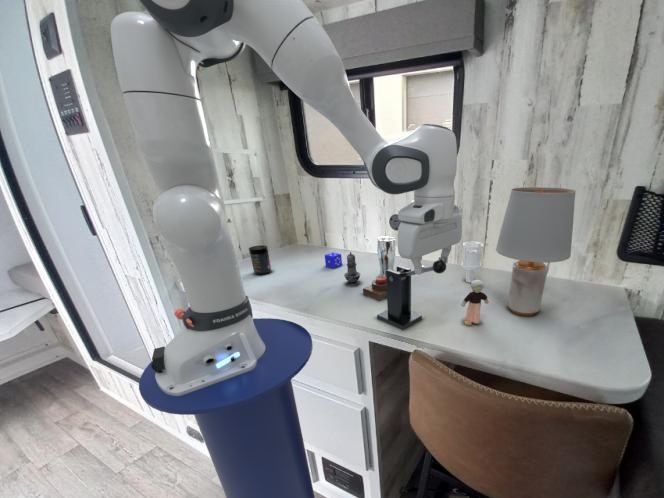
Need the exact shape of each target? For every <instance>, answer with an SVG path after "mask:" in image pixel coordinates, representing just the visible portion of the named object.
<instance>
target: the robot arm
mask: <svg viewBox="0 0 664 498" xmlns="http://www.w3.org/2000/svg"><path fill="white" fill-rule="evenodd" d="M138 1H139V2H140V3H141V5H142V7H143V8H144V9H145V10H143V11H125V12H122V13H119V14H117V15H116V16H114V18H113V19H112V21H111V23H110V38H111V39H110V40H111V48H112V55H113V60H114V65H115V71H116V74H117V75H116V76H117V79H118V84H119V87H120V90H121V93H122V97H123V100H124V104H125V106H126V110H127V113H128V116H129V119H130V123H131V126H132V130H133V133H134V136H135V139H136V142H137V146H138V149H139V151H140V153H141V155H142V156H143V159H144V162H145V164H146V165H147V168H148V170H149V173H150V175H151V177H152V181H153V182H154V186H155V188H156V190H157V193H158V197H157V198H156V200H155V202H154V204H153V208H152V212H153V213H152V215H153V221H154V225H155V228H156V229H157V231H158V234H159V235H160V237H161V240H162V242H163V245H164V247H165V249H166V251H167V253H168V256H169V257H170V260H171V262H172V263H173V265H174V267H175V269H176V271H177V273H178V276H179V279H180V282H181V285H182V287H183V290H184V293H185V296H186V299H187V302H188V306H189V307H188V309H187V310H185V309H183V308H177V309H175V311H174V312H173V314H174V316H175V317H176V318H177V319H178V320H180V321H182V323H183V328H181V330H180V331H179V332H178V333H177V334H176V335H175V336H174V337H173V338H172V339H171V340H170V341H169V342H168V343H167V344H166V345H165V346H160V347H156V348H154V349H153V353H152V357H151V362H152V363H151V362H150V363H151V367H152V369H153V370H154V371H156V374H155V378H156V382H157V384H158V386H159V388H160V389H161V390H162V391H163V392H164V393H166V394H168V395H171V396H182V395H185V394H187V393H190V392H193V391H196V390H198V389H201V388H204V387H207V386H209V385H212V384H215V383H218V382H221V381H223V380H226V379H229V378H232V377H234V376H237V375H240V374H243V373H245V372H248V371H251V370H253V369H254V368H255V366H256V363H257V361H258V359H259V358H260V357H261V356H262V355H263V353H264V352H265V349H266V346H265V344H264V342H263V341H262V339H261V338H260V336H259V334H258V332H257V330H256V327H255V325H254V322H253V319H254V318H253V309H252V305H251V302H250V299H249V296H248V295H246V291H245V287H244V282H243V279H242V274H241V271H240V265H239V264H238V259H237V256H236V255H237V254H236V251H235V247H234V244H233V240H232V236H231V233H230V232H231V231H230V229H229V224H228V220H227V214H226V206H225V202H224V201H225V200H224V197H223V193H222V188H221V184H220V179H219V175H218V170H217V167H216V162H215V158H214V157H215V156H214V153H213V149H212V144H211V139H210V135H209V130H208V126H207V121H206V117H205V112H204V108H203V102H202V98H201V94H200V90H199V86H198V85H199V84H198V79H197V68H198V66H199V67H201V68H204V69H206V68H210V67H213V66H216V65H220V64H224V63H229V62H232V61H234V60H236V59H238V58H239V57H240V56H241V55H242V54H243V52H244V50H245V48H246V45H247V46H248V47H250V48H252V49H253V50H254V51H255V52H256V53H257V54H258V55H259V56H260V57H261V59H262V60H263V61H264V62H265V63H266V64H267V66H268V67H269V68H270V69H271V71H273V73H274V74H275V75H276V76H277V77H278V78H279V80H280V81H282V83H283V84H284V85H285V86H286V87H288V89H290V90H291V91H292V93H294V94H295V95H296V96H297V97H298V98H299V99H300V100H302V101H303V102H304V103H305V104H307V105H308V106H309V107H311V108H312V109H313V110H315V112H317V113H319V114H320V115H321V116H323V117H324V118H325V119H326V120H328V121H329V122H330V123H331V124H332V125H333V126H334V127H336V129H337V130H338V131H339V132H340V134H341V135H342V136H343V137H344V139H346V141H347V142H348V143H349V145H351V147H352V148H353V149H354V150H355V152H356V153H357V154H358V155H359V157H360V158H361V160H362V161H363V163H364V166H365V170H366V173H367V176H368V179H369V180H370V182H371V184H372V185H373V186H374V187H375V188H377V189H378V190H379V191H381V192H383V193H385V194H387V195H391V196H399V195H402V194H406V193H411V192H413V200H411V201H410V202H409V203H408V204H406V205H405V206H404V207H402V208H401V209H400V210H398V212H397V219H398V221H400V223H399V226H398V227H397V228H398V229H397V252H398V254H399V256H400V257H401V258H402V259H406V260H410V261H411V263H412V265H413V268H414V272H415V275H418V276H420V275H423V274H424V273H425V272H424V268H425V265H422V262H421V261H422V260H423V257H424V256H426V255H430V254H431V253H435V252H438V251H440V250H441V253H440V255H439V256H438V260H442V261H444V262H445V264H446V265H447V264H448V261H449V256H450V254H451V251H452V246H454V245H457V244H459V243H460V242H461V240H462V236H463V235H462V233H463V222H462V220H463V219H462V215H461V214H460V209H459V207H458V206H457V205H456V204H455V200H456V199H455V198H456V191H455V185H454V184H455V178H456V176H457V169H458V146H457V138H456V134H455V133H454V132H453V130H452V129H450V128H449V127H446V126H444V125H439V124H432V123H424V124H420V125H419V126H418V127H416V128H415V130H412V132H410V133H408V134H407V135H405V136H404V137H401V138H399V139H398V140H395V141H392V142H389V141H387V140H385V138H384V137H383V136H381V134H380V133H379V131H378V130H377V129H376V128H375V126H374V124H373V123H372V122H371V121H370V120H369V118H368V117H367V115H366V114H365V113H364V112H363V110H362V109H361V107H360V105H359V104H358V102H357V100H356V98H355V97H354V94H353V92H352V90H351V86H350V83H349V80H348V76H347V72H346V68H345V65H344V63H343V60H342V58H341V56H340V54H339V52H338V50H337V48H336V46H335V44H334V43H333V41H332V39H331V37H329V34H328V33H327V32H326V30H325V28H324V27H323V26H322V24H321V23H320V22H319V20H318V19H317V18H316V16H315V15H314V14H313V13H312V11H311V10H310V8H309V7H308V6H307V5H306V4H305V2H304V1H303V0H138Z"/></svg>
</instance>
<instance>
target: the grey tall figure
mask: <svg viewBox="0 0 664 498" xmlns="http://www.w3.org/2000/svg"><path fill="white" fill-rule="evenodd" d="M346 266H347V271H346V272H345V273H344V275H343V276H344V278H345V280H346V283H345V286H347V287H358V286H359V285H361V281H359V280H360V277H361V273H360V272H359V271H357V263H356V255H355V254H353V253H352V252H351V251H349V254H347V256H346Z"/></svg>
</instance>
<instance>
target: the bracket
mask: <svg viewBox="0 0 664 498" xmlns="http://www.w3.org/2000/svg"><path fill="white" fill-rule="evenodd" d="M401 270H404V272H409V271H412V269H411V268H408V267H406V266H405V267H404V266H402V265H397V266H396V270H394V271H393V270H386V276H387V298H386V305H387V307H386V310H384V311H382V312H380V313H378V314H377V315H376V319H378V320H380V321H382V322H384V323H387V324H389V325H391V326H394V327H396V328H398V329H401V330H402V331H404V330H406V329H407V328H409V327H411V326H412V325H414V324H417V323H418V322H419V321H422V319H423V316H422V314H419V313H416V312H413V311H412V275H411V276H406V279H404V280H401V273H399V272H397V271H401Z"/></svg>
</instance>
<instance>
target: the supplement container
mask: <svg viewBox="0 0 664 498" xmlns="http://www.w3.org/2000/svg"><path fill="white" fill-rule="evenodd" d="M248 253H249V256H250V261H251V264H252V265H251V266H252V270H253V273H254V274H255V275H256V276H265V275H269V274H271V273H272V270H273V269H272V265H271V259H270V255H269V248H268V246H267V245H262V244H261V245H259V244H258V245H253V246H250V247H248Z"/></svg>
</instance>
